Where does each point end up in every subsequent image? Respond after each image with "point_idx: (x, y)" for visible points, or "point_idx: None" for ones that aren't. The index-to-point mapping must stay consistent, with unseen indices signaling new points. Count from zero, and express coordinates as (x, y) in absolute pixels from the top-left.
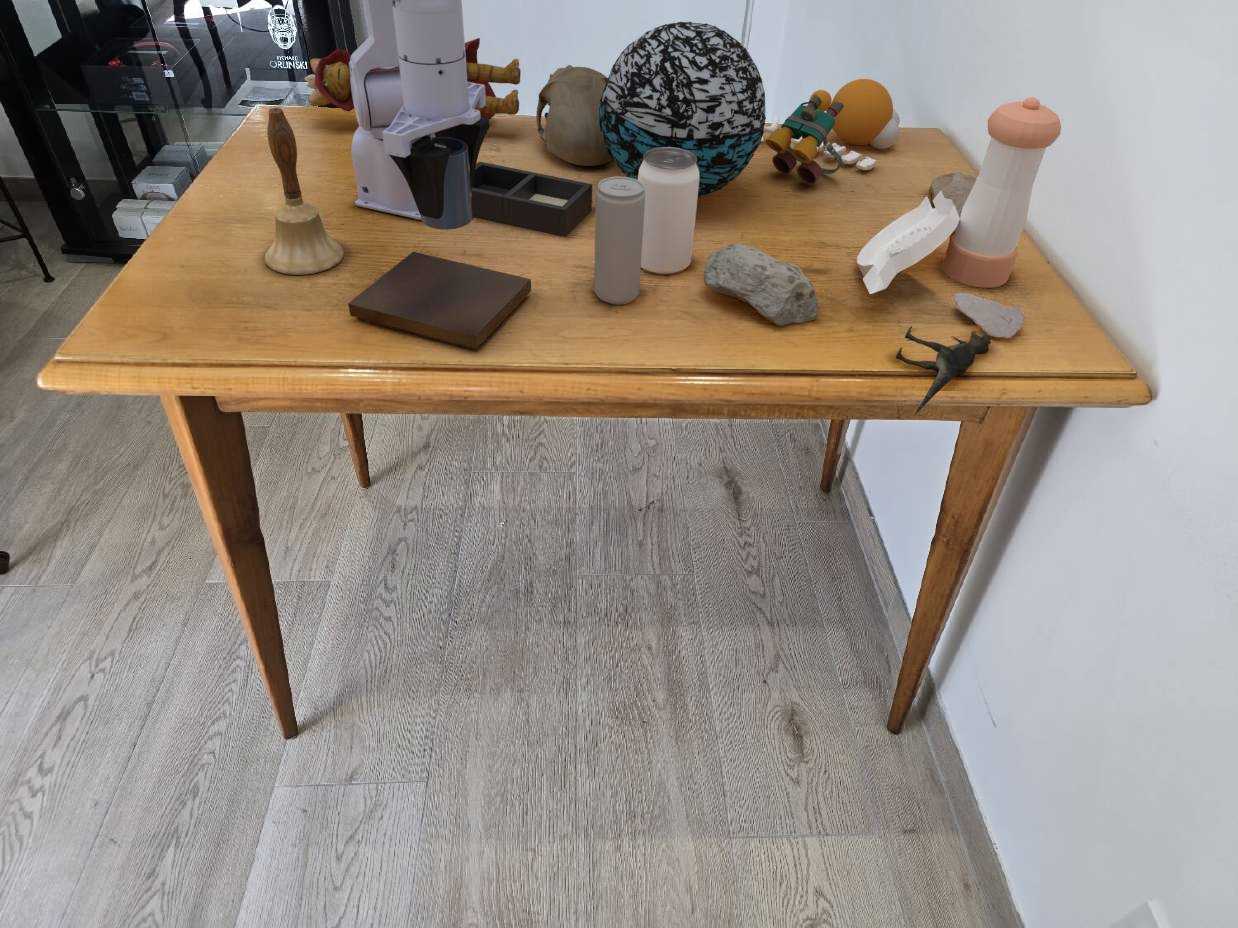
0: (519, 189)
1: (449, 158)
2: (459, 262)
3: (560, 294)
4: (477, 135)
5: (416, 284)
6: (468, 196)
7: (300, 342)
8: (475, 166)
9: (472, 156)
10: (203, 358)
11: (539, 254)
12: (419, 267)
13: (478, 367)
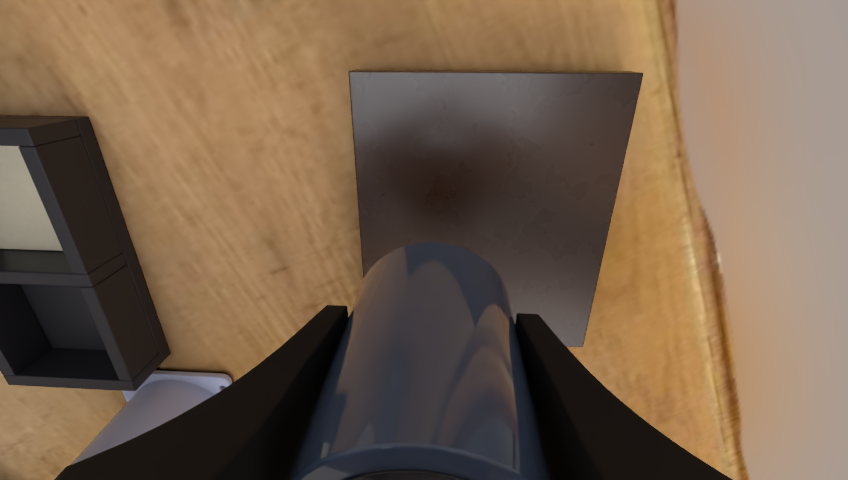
0: (33, 271)
1: (521, 472)
2: (362, 249)
3: (316, 4)
4: (221, 478)
5: None
6: (425, 288)
7: (652, 356)
8: (274, 355)
9: (283, 395)
10: (719, 433)
11: (192, 136)
12: None
13: (673, 41)
